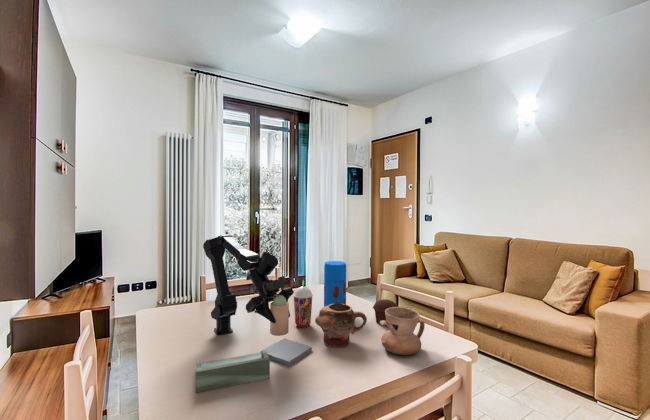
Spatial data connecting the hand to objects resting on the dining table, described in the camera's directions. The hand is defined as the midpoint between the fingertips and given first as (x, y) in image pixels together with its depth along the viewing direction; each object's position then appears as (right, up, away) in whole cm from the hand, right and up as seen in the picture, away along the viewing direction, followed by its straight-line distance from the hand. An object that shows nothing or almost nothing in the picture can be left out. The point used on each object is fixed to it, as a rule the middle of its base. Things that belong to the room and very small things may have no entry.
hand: (282, 319), depth 109 cm
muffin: (+43, -13, +34) cm, 56 cm away
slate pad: (+1, -13, +4) cm, 14 cm away
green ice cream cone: (-1, -5, +1) cm, 5 cm away
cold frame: (-14, -13, -10) cm, 22 cm away
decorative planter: (+21, -13, +13) cm, 28 cm away
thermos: (+20, -13, +44) cm, 50 cm away
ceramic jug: (+44, -14, +7) cm, 46 cm away
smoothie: (+5, -13, +29) cm, 32 cm away
